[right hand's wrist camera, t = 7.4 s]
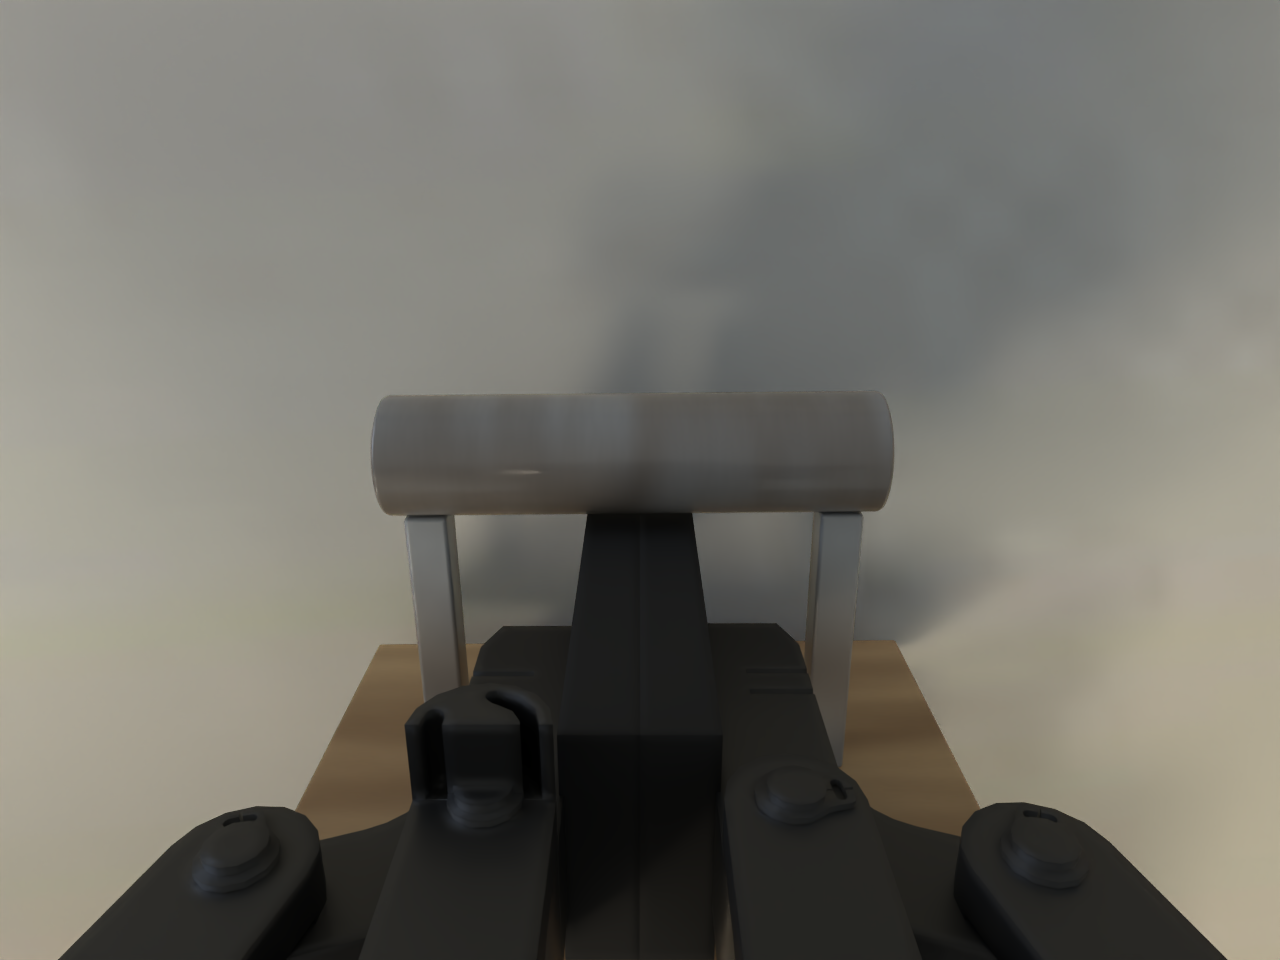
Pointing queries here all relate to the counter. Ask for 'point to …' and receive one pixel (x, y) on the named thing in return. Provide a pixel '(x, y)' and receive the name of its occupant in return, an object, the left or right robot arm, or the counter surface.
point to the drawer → (630, 484)
